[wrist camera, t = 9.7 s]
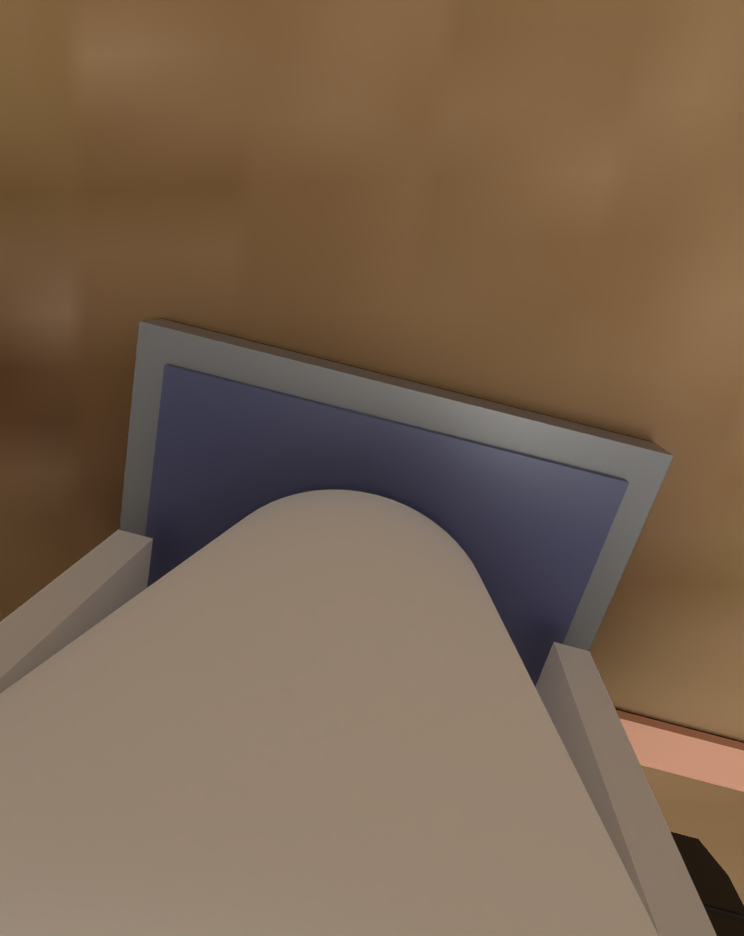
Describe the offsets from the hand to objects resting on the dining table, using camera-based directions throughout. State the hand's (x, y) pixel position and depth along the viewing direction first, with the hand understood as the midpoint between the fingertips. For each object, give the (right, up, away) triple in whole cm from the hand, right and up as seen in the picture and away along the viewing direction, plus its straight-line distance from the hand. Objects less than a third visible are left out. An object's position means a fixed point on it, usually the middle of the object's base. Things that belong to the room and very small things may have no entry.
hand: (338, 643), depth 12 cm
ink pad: (0, +1, +2) cm, 2 cm away
